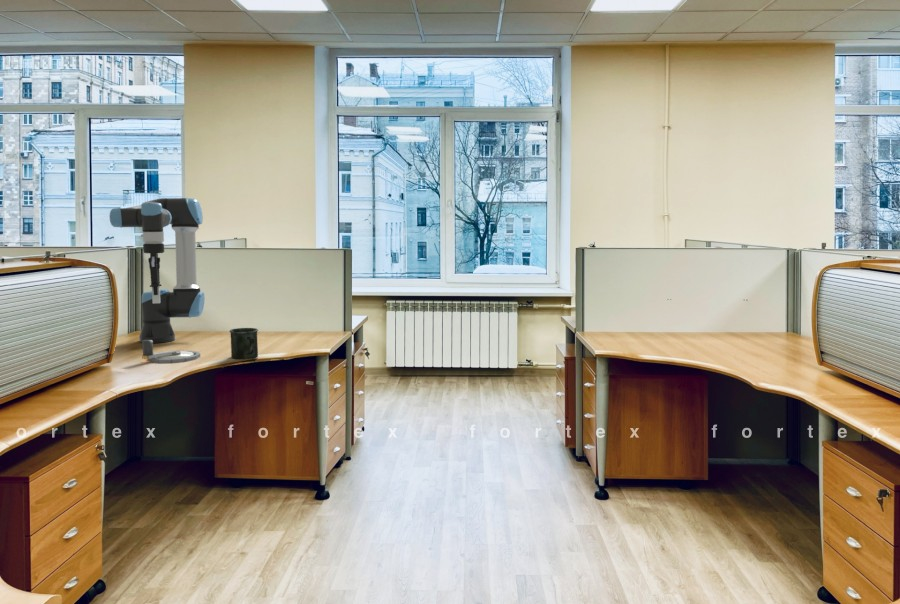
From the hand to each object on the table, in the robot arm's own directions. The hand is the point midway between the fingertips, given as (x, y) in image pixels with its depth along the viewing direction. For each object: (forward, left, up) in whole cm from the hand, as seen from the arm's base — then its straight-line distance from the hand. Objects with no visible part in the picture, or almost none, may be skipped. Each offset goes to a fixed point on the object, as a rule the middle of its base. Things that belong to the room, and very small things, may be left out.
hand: (156, 303), depth 279 cm
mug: (+24, +26, -23) cm, 42 cm away
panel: (+7, +4, -23) cm, 24 cm away
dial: (+8, +1, -21) cm, 23 cm away
